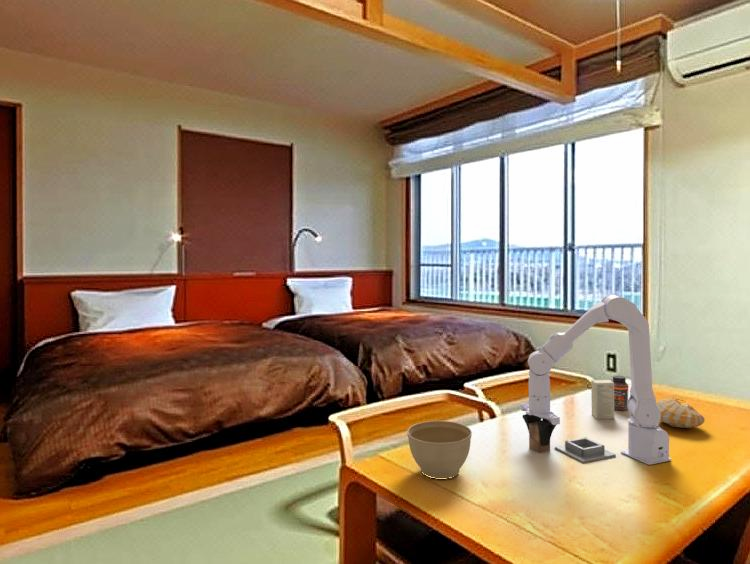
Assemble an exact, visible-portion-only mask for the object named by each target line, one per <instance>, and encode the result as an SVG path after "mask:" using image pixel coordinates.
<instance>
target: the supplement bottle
mask: <svg viewBox="0 0 750 564" xmlns="http://www.w3.org/2000/svg"><path fill="white" fill-rule="evenodd" d="M626 379H627V378H626V376H624V375H613V377H612V380H611V381H612V382H614V411H622V412H623V411H628V408H627V402H628V400H629V384H628V383H627V381H626Z"/></svg>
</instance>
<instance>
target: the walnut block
mask: <svg viewBox="0 0 750 564" xmlns="http://www.w3.org/2000/svg"><path fill="white" fill-rule="evenodd" d="M528 435H529V436H528V448H529V449H530V450H532V451H535V452H536V453H544V452H550V451H551V440H550V441H549V445H546V446H542V445H541V442H540V433H539V428H538V425H537V423H530V424H529V431H528Z"/></svg>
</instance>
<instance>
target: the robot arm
mask: <svg viewBox="0 0 750 564" xmlns="http://www.w3.org/2000/svg"><path fill="white" fill-rule="evenodd" d="M609 318H610V319H611V320H613V321H616V322H618V323H620V324H621V325H622V326H624V327H626V328H627V330H628V346H629V349H628V350H629V363H630V364H629V366H630V381H631V387H630V390H629V397H628V402H627V408H628V409H627V411H628V412H629V414H630V417H629V418H628V419H627V422H628V427H627V428H628V429H627V432H628V433H627V436H628V440H627V441H628V442H627V446H628V449H622V450H620V454H623V455H626V456H628V457H630V458H632V459H635V460H636V461H639V462H642V463H644V464H646V465H655V464H659V463H661V464H662V463H665V462H671V461H672V458H671V457H670V437H669V434H668V432H667V431H666V430H664V429H663V428H662V427H660V425H659V424H660V423H659V422H661V421H660V418H661V413H660V410H659V409H658V407H657V405H656V403H657V398H656V396H655V393H654V389H653V377H652V373H653V372H652V358H651V357H652V355H651V339H650V338H651V337H650V325H649V324H650V323H649V321H648V319H647V318H646V317H645V316H644V314H643V313H642V312H641V311H640V309H639V308H638V307H637V305H636V304H635V303H634V302H632V301H630V300H629V299H627V298H625V297H622V296H620V295H618V294H615V293H614V294H607V295H606V296H604V297H603V298H602V299H601V300H599V301H597V302H596V303H595V304H593V305H592V306H591V307H590V308H589V309H588V310H587V311H586V312H585V313H584V314H583V315H582V316H580V317H579V319H577V320H576V321H575V322H574V323H573V324H572V325H570V327H569V328H567V330H565V332H556V333H555V334H553V333H552V334H551V335H549V336H548V338H549V339H548V340H547V341H546V342H545V343H544V344H542V345H541V346H538V347H536V350H537V351H535V350H534V351H533V352H532V353H530V355H529V356H528V359H527V364H528V367H529V371H528V375H529V377H528V402H525V403H520V410H521V412H525V414H522V419H523V421H524V422H525V425H526V427H527V430H528V431H527V432H529V424H530V423H537V425H538V428H539V433H540V442H541V445H542V446H546V445H549V441H550V442H551V437H552V434H553V433H554V429H555V428H556V426H557V425H560V424H561V417H560V416H559V415H556V413H554V412H553V411H552V410H551V379H550V371H551V370H552V365H553V364H556V363H557V362H559V360H561V359H562V358H563V357H564V356H565V355H566V354H568V353H569V352H570V351H571V350H573V347H574V346H573V343H574V342H575V340H576V339H578V338H579V337H580V336H582V335H583V334H584V333H586V332H587V331H589V329H590V328H592V327H593V326H595V325H596V324H597V323H607V322H610V321H609Z"/></svg>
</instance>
